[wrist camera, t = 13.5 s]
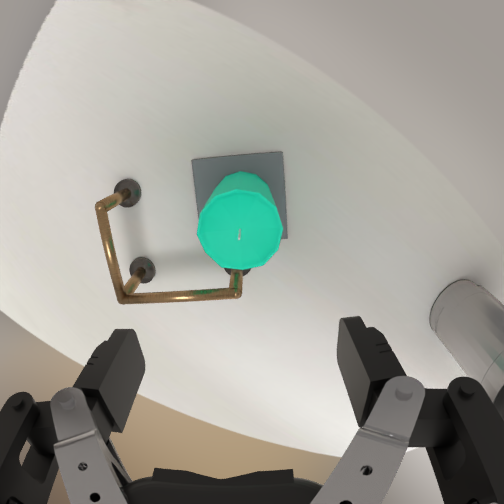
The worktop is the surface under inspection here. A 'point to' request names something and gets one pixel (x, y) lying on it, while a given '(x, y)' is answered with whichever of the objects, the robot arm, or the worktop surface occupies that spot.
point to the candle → (240, 223)
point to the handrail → (143, 268)
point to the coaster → (260, 164)
